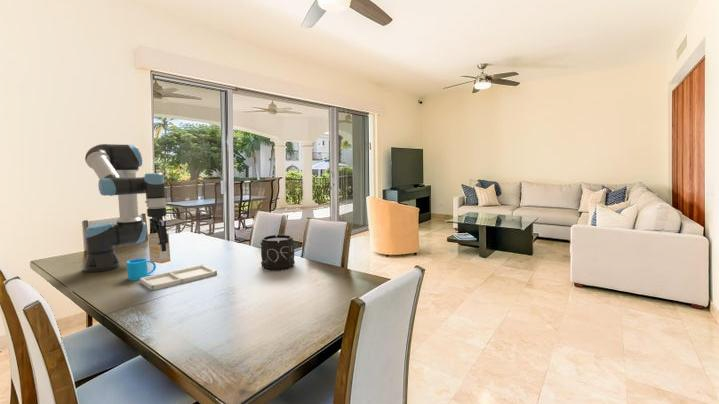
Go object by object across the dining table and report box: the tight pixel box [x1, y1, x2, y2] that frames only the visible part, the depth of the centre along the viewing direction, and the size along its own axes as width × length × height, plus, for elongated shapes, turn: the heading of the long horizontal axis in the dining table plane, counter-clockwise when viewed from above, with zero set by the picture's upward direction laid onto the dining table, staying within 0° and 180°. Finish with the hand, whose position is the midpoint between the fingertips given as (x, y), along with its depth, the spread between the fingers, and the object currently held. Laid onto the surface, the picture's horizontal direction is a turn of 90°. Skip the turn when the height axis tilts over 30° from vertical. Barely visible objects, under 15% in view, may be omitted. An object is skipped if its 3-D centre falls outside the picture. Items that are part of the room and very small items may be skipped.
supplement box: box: [147, 232, 171, 264], centre depth 160 cm, size 8×5×13 cm, turn 65°
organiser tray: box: [139, 264, 218, 292], centre depth 168 cm, size 16×29×2 cm, turn 137°
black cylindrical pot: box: [260, 234, 296, 272], centre depth 185 cm, size 18×18×16 cm
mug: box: [126, 258, 157, 281], centre depth 171 cm, size 12×8×8 cm
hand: (159, 256), depth 160 cm, fingers closed on supplement box, 9 cm apart
